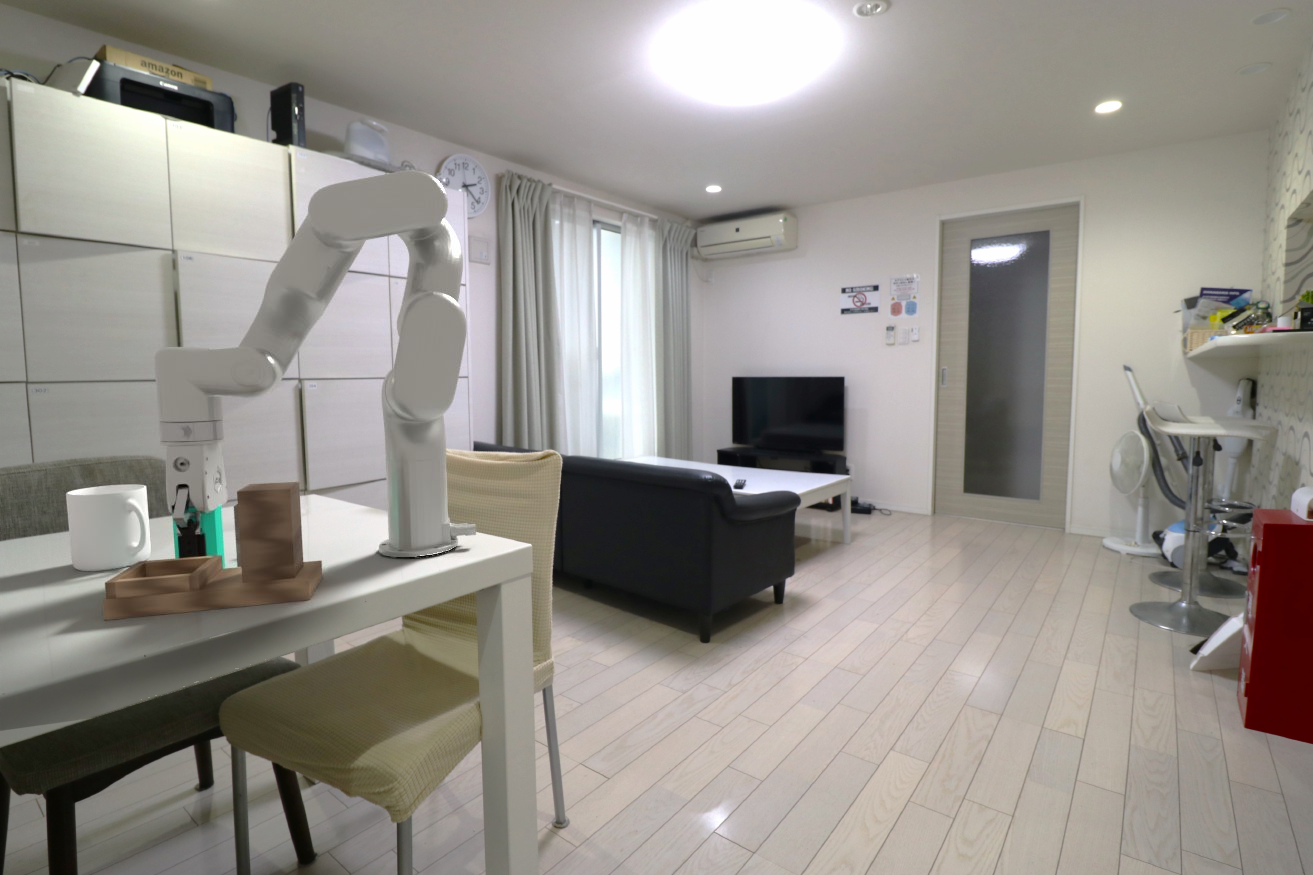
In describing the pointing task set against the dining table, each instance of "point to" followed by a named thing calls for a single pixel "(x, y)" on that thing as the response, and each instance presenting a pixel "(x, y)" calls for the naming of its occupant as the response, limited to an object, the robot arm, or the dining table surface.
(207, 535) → the candle
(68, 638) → the dining table surface
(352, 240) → the robot arm
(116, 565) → the mug
